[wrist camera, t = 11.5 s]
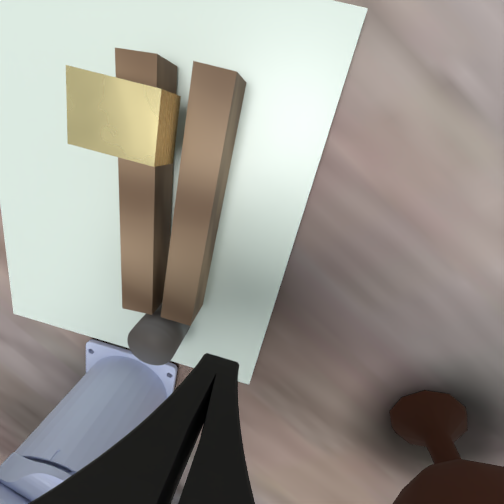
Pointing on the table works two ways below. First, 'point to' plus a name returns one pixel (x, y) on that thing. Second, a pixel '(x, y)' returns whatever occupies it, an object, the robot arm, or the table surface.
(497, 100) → the table surface
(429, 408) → the ice cream bowl
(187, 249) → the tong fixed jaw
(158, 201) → the tong jaw
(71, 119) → the pale yellow rectangular block
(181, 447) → the robot arm
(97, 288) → the serving board
